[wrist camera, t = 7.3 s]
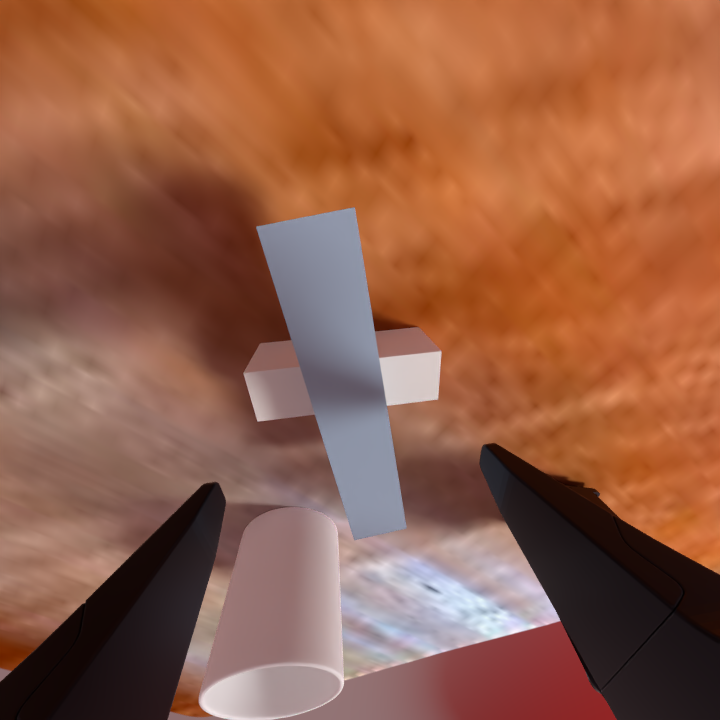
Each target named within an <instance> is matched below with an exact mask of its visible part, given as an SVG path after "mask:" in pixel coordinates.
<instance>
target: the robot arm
mask: <svg viewBox="0 0 720 720" xmlns="http://www.w3.org/2000/svg"><path fill="white" fill-rule="evenodd" d="M480 468H481V470H482V472H483V475H484V477H485V479H486V481H487V484H488V486H489V488H490V490H491V493H492V495H493V497H494V499H495V502H496V504H497V506H498V508H499V510H500V512H501V514H502V516H503V518H504V520H505V522H506V523H507V525H508V527H509V529H510V530H511V532H512V534H513V536H514V537H515V539H516V541H517V543H518V545H519V546H520V548H521V550H522V552H523V553H524V555H525V557H526V559H527V561H528V562H529V564H530V566H531V568H532V569H533V571H534V573H535V575H536V577H537V578H538V580H539V582H540V584H541V585H542V587H543V589H544V591H545V592H546V594H547V596H548V598H549V600H550V601H551V603H552V605H553V607H554V608H555V610H556V612H557V614H558V616H559V618H560V620H561V622H562V624H563V626H564V628H565V630H566V632H567V634H568V637H569V638H570V641H571V643H572V645H573V646H574V648H575V651H576V653H577V655H578V657H579V659H580V661H581V663H582V665H583V667H584V669H585V671H586V674H587V677H588V679H589V682H590V683H591V685H592V687H593V688H594V689H595V690H596V691H597V692H599V693H601V694H602V695H603V697H604V698H605V700H606V701H607V703H608V705H609V706H610V708H611V710H612V712H613V714H614V715H615V717H616V719H617V720H720V575H719V574H717V573H716V572H714V571H712V570H710V569H708V568H706V567H704V566H703V565H701V564H699V563H697V562H695V561H693V560H691V559H690V558H688V557H686V556H684V555H682V554H680V553H679V552H677V551H675V550H673V549H671V548H670V547H668V546H666V545H664V544H662V543H660V542H659V541H657V540H655V539H653V538H652V537H650V536H648V535H647V534H645V533H643V532H641V531H640V530H638V529H636V528H635V527H633V526H631V525H630V524H628V523H626V522H625V521H623V520H621V519H620V518H619V517H618V516H617V515H616V514H615V513H614V512H613V511H612V510H611V509H610V508H609V507H608V506H607V505H606V504H605V503H604V502H603V501H602V500H601V499H600V498H599V495H600V493H599V492H598V491H597V490H596V489H592V488H585V487H577V486H569V485H563V484H562V483H560V482H558V481H557V480H555V479H553V478H552V477H550V476H549V475H547V474H545V473H544V472H542V471H540V470H539V469H537V468H535V467H534V466H532V465H530V464H529V463H527V462H525V461H524V460H522V459H521V458H519V457H517V456H516V455H514V454H512V453H511V452H509V451H507V450H506V449H504V448H502V447H501V446H499V445H497V444H495V443H491V444H484V445H483V446H482V450H481V455H480ZM225 506H226V500H225V497H224V494H223V492H222V490H221V487H220V485H219V483H217V482H212V483H206V484H203V485H202V486H201V487H200V488H199V489H198V490H197V491H196V492H195V493H194V494H193V495H192V496H191V497H190V498H189V499H188V500H187V501H186V502H185V503H184V504H183V505H182V506H181V507H180V508H179V509H178V510H177V511H176V512H175V513H174V514H173V515H172V516H171V517H170V518H169V519H168V520H167V521H166V522H165V523H164V524H163V525H162V526H161V527H160V528H159V529H158V530H157V531H155V532H154V533H153V534H152V535H151V536H150V537H149V538H148V539H147V540H146V541H145V542H144V543H143V544H142V545H141V546H140V547H139V548H138V549H137V550H136V551H135V552H134V553H133V554H132V555H131V556H130V557H129V558H128V559H127V560H126V561H125V562H124V563H123V564H122V565H121V566H120V567H119V568H118V569H117V570H116V571H115V572H114V573H113V574H112V575H111V576H110V577H109V578H108V579H107V580H106V581H105V582H104V583H103V584H102V585H101V586H100V587H99V588H98V589H97V590H96V591H95V592H94V593H93V594H92V595H91V596H90V597H89V598H88V599H87V600H86V602H85V603H84V604H82V605H81V606H80V607H79V608H78V609H77V610H76V611H75V612H74V613H73V614H72V615H71V616H70V617H69V618H68V619H67V620H66V621H64V622H63V623H62V624H61V625H60V626H59V627H58V628H57V629H56V630H55V631H54V632H53V633H52V634H51V635H50V636H49V637H48V638H47V639H46V640H45V641H44V642H43V643H42V644H41V645H40V646H39V647H38V648H37V649H35V650H34V651H33V652H32V653H31V654H30V655H29V656H28V657H27V658H26V659H25V660H24V661H22V662H21V663H20V664H19V665H18V666H17V667H16V668H15V669H14V670H13V671H12V672H11V673H9V674H8V675H7V676H6V677H5V678H4V679H3V680H2V681H1V682H0V720H167V719H168V716H169V713H170V709H171V706H172V703H173V699H174V696H175V692H176V689H177V686H178V682H179V679H180V676H181V672H182V669H183V665H184V662H185V659H186V655H187V652H188V649H189V645H190V642H191V638H192V635H193V632H194V628H195V625H196V622H197V618H198V615H199V611H200V608H201V605H202V601H203V598H204V595H205V591H206V588H207V584H208V581H209V578H210V574H211V571H212V568H213V564H214V560H215V557H216V552H217V547H218V542H219V537H220V532H221V527H222V521H223V516H224V511H225Z"/></svg>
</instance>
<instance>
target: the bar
mask: <svg viewBox="0 0 720 720" xmlns="http://www.w3.org/2000/svg"><path fill="white" fill-rule="evenodd" d="M256 228H257V232H258V235H259V238H260V241H261V244H262V248H263V251H264V254H265V257H266V260H267V263H268V267H269V270H270V273H271V276H272V279H273V283H274V286H275V289H276V292H277V295H278V299H279V302H280V305H281V308H282V311H283V314H284V318H285V321H286V324H287V327H288V330H289V334H290V337H291V340H292V343H293V346H294V349H295V353H296V356H297V359H298V362H299V365H300V369H301V372H302V375H303V378H304V381H305V385H306V388H307V391H308V394H309V397H310V400H311V404H312V407H313V410H314V413H315V416H316V420H317V423H318V426H319V429H320V432H321V435H322V439H323V442H324V445H325V448H326V451H327V455H328V458H329V461H330V464H331V467H332V471H333V474H334V477H335V480H336V483H337V486H338V490H339V493H340V496H341V499H342V502H343V506H344V509H345V512H346V515H347V518H348V522H349V525H350V528H351V531H352V534H353V537H354V540H358V539H362V538H366V537H371V536H375V535H380V534H384V533H389V532H393V531H397V530H402V529H406V528H407V527H406V521H405V515H404V509H403V503H402V497H401V490H400V484H399V478H398V472H397V466H396V459H395V453H394V447H393V441H392V435H391V429H390V422H389V416H388V410H387V404H386V398H385V391H384V385H383V379H382V373H381V367H380V361H379V354H378V348H377V342H376V336H375V330H374V323H373V317H372V311H371V305H370V299H369V292H368V286H367V280H366V274H365V268H364V262H363V255H362V249H361V243H360V237H359V231H358V224H357V218H356V212H355V207H354V208H349V209H344V210H338V211H333V212H328V213H323V214H318V215H313V216H308V217H303V218H298V219H293V220H288V221H282V222H277V223H272V224H267V225H262V226H257V227H256Z"/></svg>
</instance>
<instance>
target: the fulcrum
mask: <svg viewBox="0 0 720 720" xmlns="http://www.w3.org/2000/svg"><path fill="white" fill-rule="evenodd" d="M375 336H376V342H377V348H378V354H379V361H380V367H381V373H382V379H383V385H384V391H385V398H386V404H387V406H389V405H397V404H405V403H413V402H421V401H429V400H437V399H438V392H439V378H440V364H441V350H440V349H439V348H438V347H437V346H436V345H435V344H434V343H433V342H432V341H431V339H430V338H429V337H428V336H427V335H426V334H425V333H424V332H423V331H422V330H421V329H420V328H419V327H414V328H404V329H395V330H385V331H375ZM243 374H244V377H245V380H246V384H247V387H248V391H249V394H250V398H251V401H252V404H253V408H254V411H255V415H256V418H257V422H259V421H267V420H275V419H283V418H292V417H300V416H308V415H315V413H314V410H313V407H312V404H311V400H310V397H309V394H308V391H307V388H306V385H305V381H304V378H303V375H302V372H301V369H300V365H299V362H298V359H297V356H296V353H295V349H294V346H293V343H292V340H288V341H278V342H269V343H260V344H259V346H258V348H257V350H256V351H255V353H254V355H253V357H252V358H251V360H250V362H249V364H248V366H247V367H246V369H245V371H244V373H243Z"/></svg>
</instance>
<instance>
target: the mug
mask: <svg viewBox="0 0 720 720" xmlns="http://www.w3.org/2000/svg"><path fill="white" fill-rule="evenodd" d="M343 685H344V670H343V646H342V621H341V597H340V572H339V547H338V531H337V527H336V525H335V523H334V522H333V521H332V520H331V519H330V518H329V517H328V516H326V515H325V514H323V513H321V512H318V511H316V510H312V509H309V508H302V507H286V508H279V509H274V510H271V511H268V512H266V513H263V514H261V515H259V516H258V517H256V518H255V519H253V520H252V521H251V522H250V523H249V524H248V525H247V527H246V528H245V530H244V533H243V535H242V539H241V542H240V546H239V550H238V554H237V557H236V561H235V565H234V568H233V572H232V576H231V579H230V583H229V587H228V591H227V594H226V598H225V602H224V605H223V609H222V613H221V616H220V620H219V624H218V628H217V631H216V635H215V639H214V642H213V646H212V650H211V654H210V657H209V661H208V665H207V668H206V672H205V676H204V679H203V683H202V687H201V691H200V694H199V704H200V706H201V708H202V709H203V710H204V711H206V712H207V713H209V714H211V715H214V716H216V717H220V718H224V719H230V720H272V719H279V718H284V717H289V716H294V715H298V714H301V713H304V712H308V711H310V710H313V709H316V708H318V707H320V706H322V705H324V704H326V703H327V702H330V701H331V700H332V699H334V698H335V697H336V696H337V695H338V694H339V693H340V692H341V690H342V688H343Z"/></svg>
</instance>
